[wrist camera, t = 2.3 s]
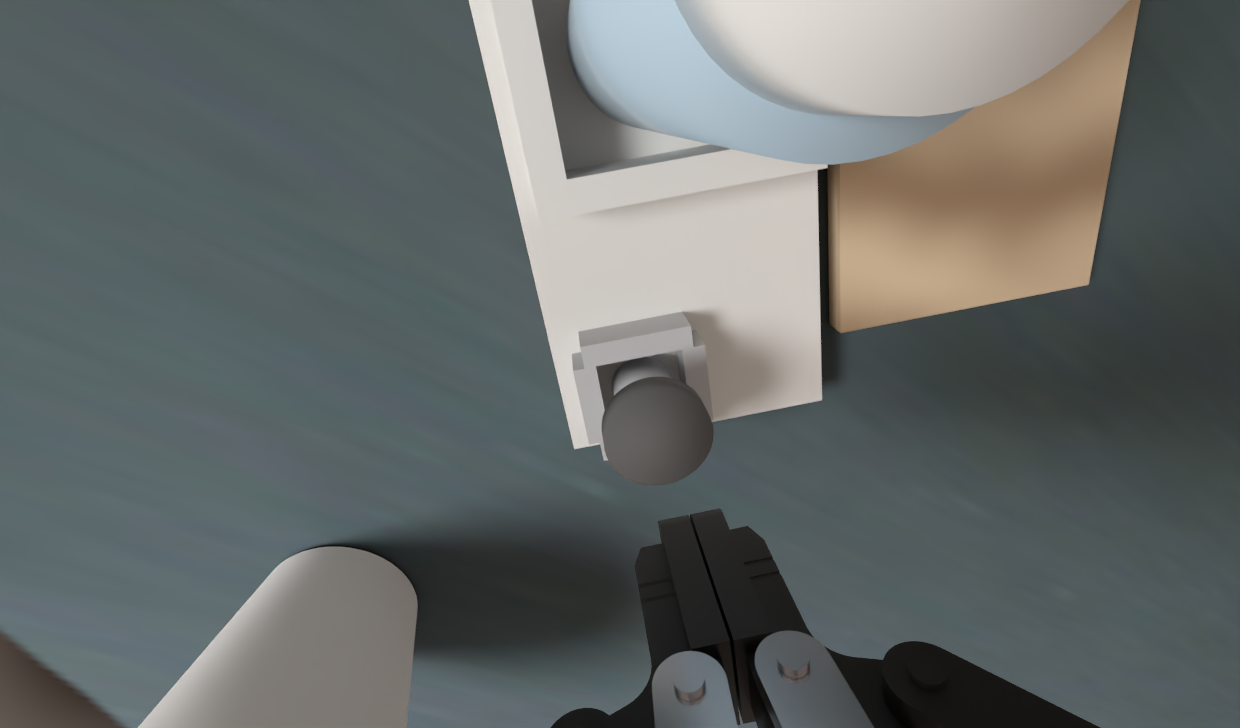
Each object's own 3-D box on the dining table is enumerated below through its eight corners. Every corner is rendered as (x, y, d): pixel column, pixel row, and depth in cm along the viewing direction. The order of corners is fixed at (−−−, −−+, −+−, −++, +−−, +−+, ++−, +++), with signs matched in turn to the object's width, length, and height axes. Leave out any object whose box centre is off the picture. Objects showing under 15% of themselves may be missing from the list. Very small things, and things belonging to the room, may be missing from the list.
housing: (449, -103, 17) (419, -163, 13) (789, -161, 17) (854, -236, 13) (573, 429, 24) (576, 487, 20) (807, 383, 24) (851, 432, 21)
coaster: (825, 45, 19) (839, 42, 18) (1115, -8, 19) (1142, -14, 18) (829, 324, 23) (840, 333, 22) (1068, 278, 23) (1088, 284, 23)
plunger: (587, 351, 20) (594, 401, 17) (681, 332, 21) (707, 379, 17) (604, 432, 22) (613, 494, 18) (691, 414, 22) (718, 473, 18)
